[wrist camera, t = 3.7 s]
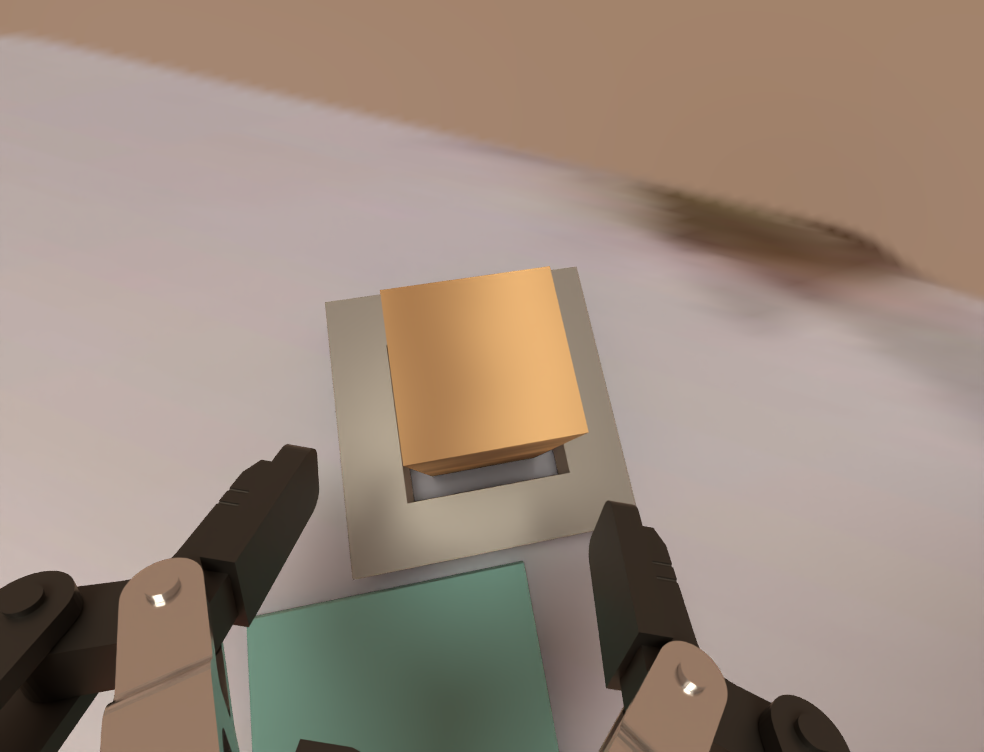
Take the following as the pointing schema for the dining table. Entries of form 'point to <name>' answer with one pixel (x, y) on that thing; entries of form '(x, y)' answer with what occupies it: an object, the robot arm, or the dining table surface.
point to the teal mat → (405, 670)
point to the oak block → (480, 371)
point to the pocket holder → (474, 514)
